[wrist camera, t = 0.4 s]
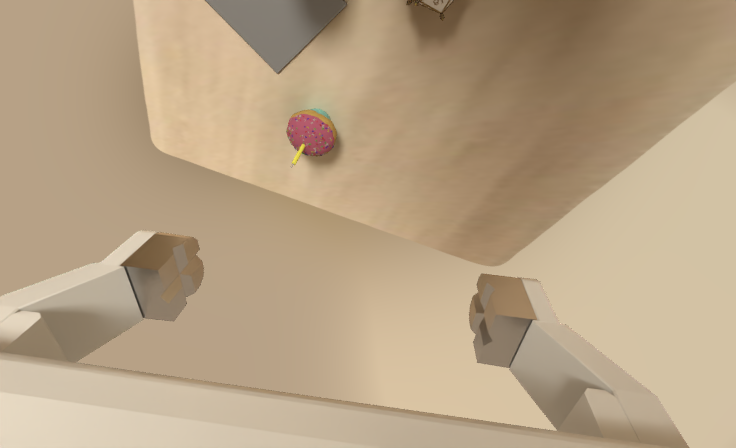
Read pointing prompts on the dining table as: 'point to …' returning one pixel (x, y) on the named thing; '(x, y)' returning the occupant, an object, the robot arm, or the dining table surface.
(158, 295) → the robot arm
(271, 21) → the mat
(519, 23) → the dining table surface
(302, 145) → the cupcake
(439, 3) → the game die
